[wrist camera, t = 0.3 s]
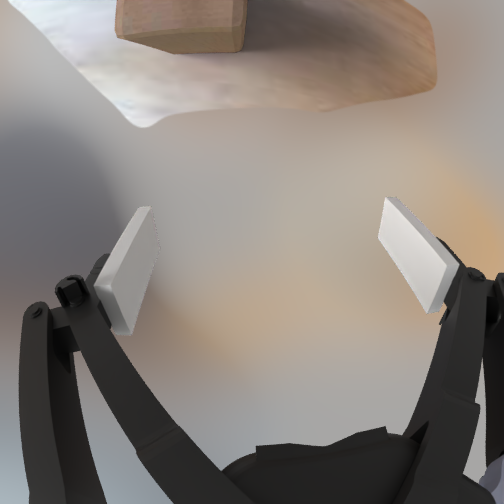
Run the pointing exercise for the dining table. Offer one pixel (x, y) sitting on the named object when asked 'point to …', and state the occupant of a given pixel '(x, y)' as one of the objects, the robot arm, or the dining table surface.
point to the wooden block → (183, 24)
